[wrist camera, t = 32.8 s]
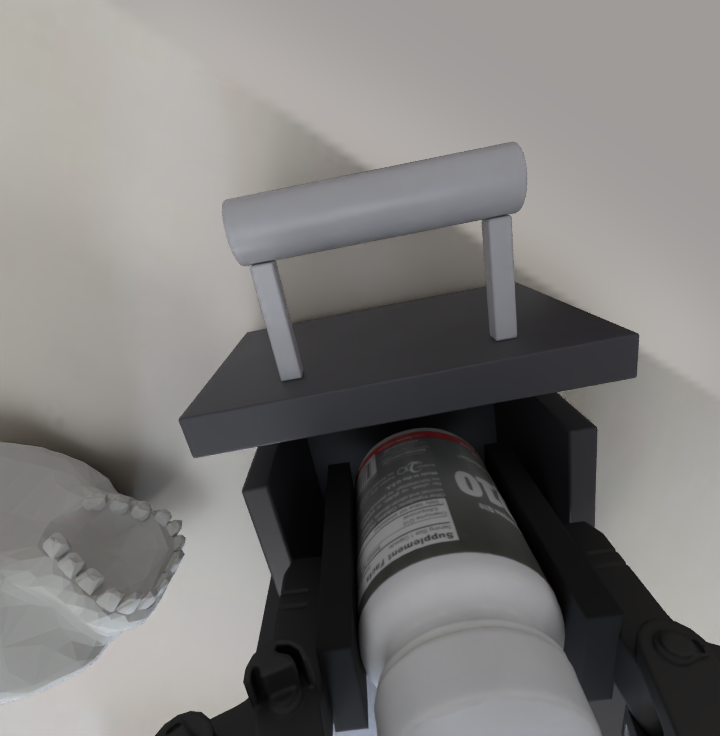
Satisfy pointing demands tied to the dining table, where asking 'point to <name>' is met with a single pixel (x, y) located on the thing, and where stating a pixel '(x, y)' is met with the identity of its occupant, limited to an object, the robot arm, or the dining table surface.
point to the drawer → (400, 350)
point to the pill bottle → (455, 601)
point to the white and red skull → (72, 566)
